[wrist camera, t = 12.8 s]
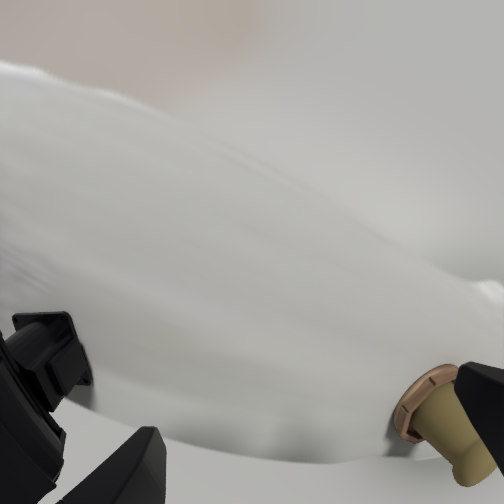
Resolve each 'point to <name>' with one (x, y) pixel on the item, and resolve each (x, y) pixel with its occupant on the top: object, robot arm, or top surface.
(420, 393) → the walnut stand
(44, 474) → the robot arm
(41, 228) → the top surface
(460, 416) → the cork
